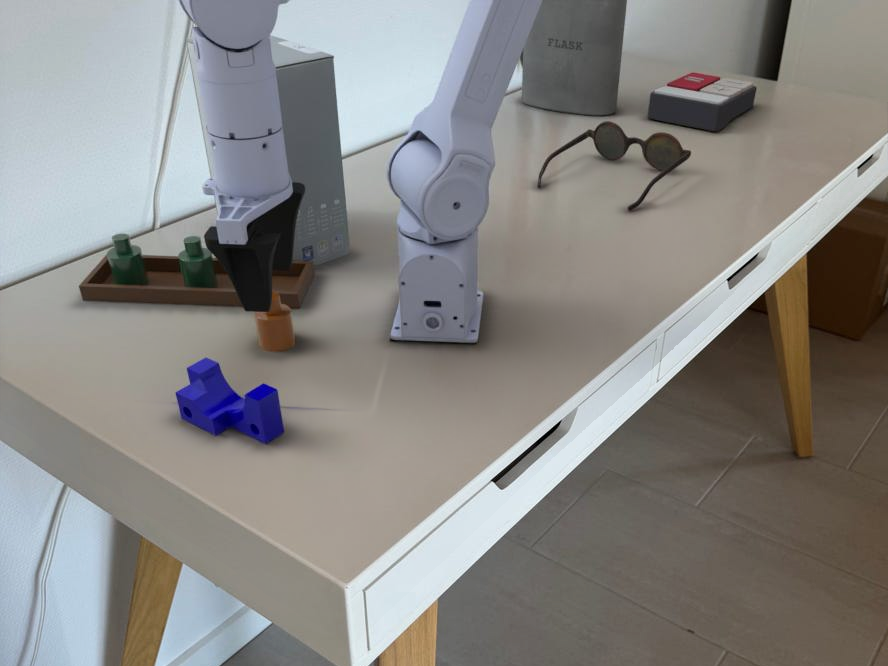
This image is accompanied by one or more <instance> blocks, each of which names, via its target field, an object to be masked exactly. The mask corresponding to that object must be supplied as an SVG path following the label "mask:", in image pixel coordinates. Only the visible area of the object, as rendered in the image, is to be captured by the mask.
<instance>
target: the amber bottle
mask: <svg viewBox="0 0 888 666" xmlns="http://www.w3.org/2000/svg"><path fill="white" fill-rule="evenodd" d="M292 314H293V313H292V309H291V308H290V307H289V306H287V305H285V304H281V301H280V295H279V294H278V293H276V292H272V302H271V308H270V310H269V312H254V320H255V327H256V333H257V338H258V339H257V340H258V344H259V347H260V348H261V349H262V350H263V351H267V352H273V353H276V352H284V351H287V350H289V349H291V348H292V347H294V346H295V344H296V338H295V337H296V336H295V330H294V329H295V328H294V321H293V315H292Z"/></svg>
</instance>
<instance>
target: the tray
mask: <svg viewBox="0 0 888 666" xmlns="http://www.w3.org/2000/svg"><path fill="white" fill-rule="evenodd" d="M142 255H143V259H144V263H145V267H146V271H147V275H148V280H149V284H148V285H147V286H139V285H115V283H114V279H113V275H112V272H111V268H110V264H109V260H108V257H107V254H105V256H104V257H103V258H102V259H101V260H100V261H99V262H98V264H97V265H96V266H95V267H94V268H93V269H92V270H91V271H90V272H89V274H88V275H87V276H86V277H85V278H84V279H83V280H82V282H81V283H80V284H79V285H78V288H79V292H80V296H81V299H82V301H84V302H111V303H112V302H113V303H134V304H135V303H138V304H160V305H161V304H164V305H189V306H190V305H191V306H192V305H193V306H212V307H213V306H215V307H216V306H217V307H239V308H241V307H242V308H243V306H242V304H241V302H240V300H239V298H238V295H237V293H236V291H235V289H234V286H233V284H232V282H231V280H230V278H229V276H228V274H227V273H226V271H225V269H224V268H223V266H222V265H221V263H220V262H219V261H218V260H217V258H216V257H213V261H214V266H215V271H216V277H217V282H218V287H217V288H193V287H184V282H183V278H182V273H181V268H180V264H179V259H178V255H158V254H157V255H154V254H151V255H150V254H142ZM314 267H315V266H313V261H296V260H292V265H291V269H290V271H280V270H272V292H276V293H278V294H279V295H280V301H281V304H285V305H287V306H289V307H290V309H291V310H292V309H294V310H299V309H300V308H301V306H302V304H303V302H304V301H305V300H304V299H305V298H306V295H307V293H308V292H309V289H310V286H311V285H312V282H313V280H314V277H315V268H314Z"/></svg>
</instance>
